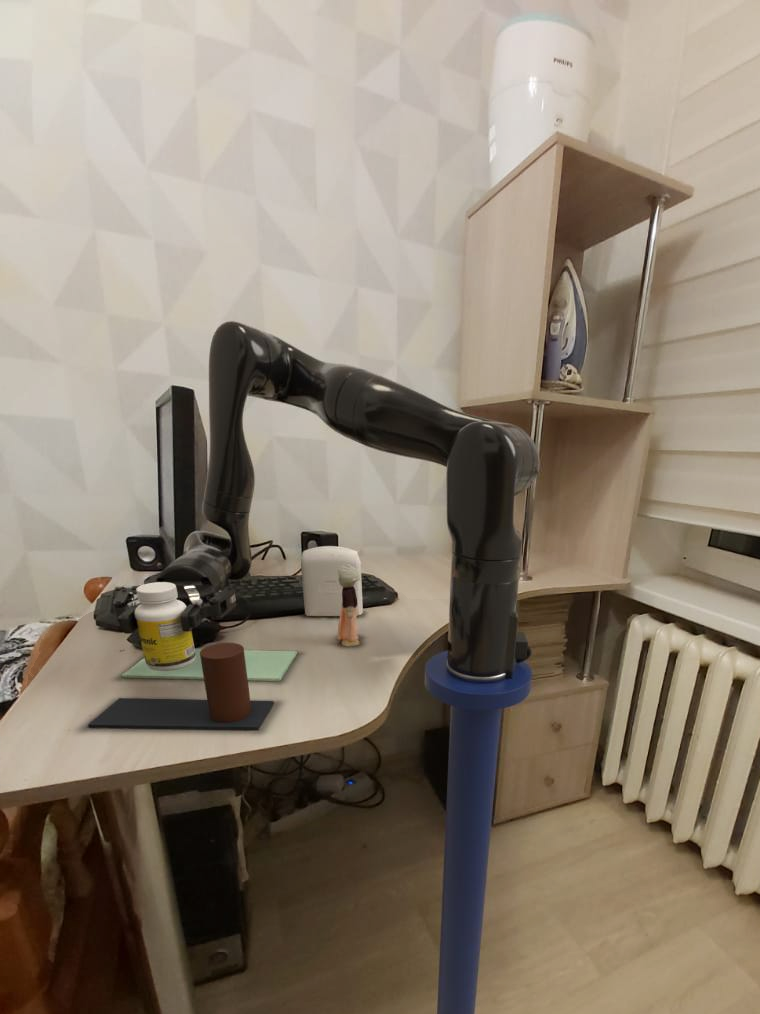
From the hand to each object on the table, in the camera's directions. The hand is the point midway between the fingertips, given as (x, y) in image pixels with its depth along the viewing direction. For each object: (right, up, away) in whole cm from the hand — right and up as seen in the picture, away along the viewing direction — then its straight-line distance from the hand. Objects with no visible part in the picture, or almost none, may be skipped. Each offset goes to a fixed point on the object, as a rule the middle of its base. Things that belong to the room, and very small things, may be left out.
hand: (156, 624), depth 59 cm
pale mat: (0, -5, +13) cm, 14 cm away
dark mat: (+3, -11, +1) cm, 11 cm away
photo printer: (+10, +3, +35) cm, 37 cm away
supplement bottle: (-1, -5, +5) cm, 7 cm away
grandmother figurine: (+16, -2, +23) cm, 29 cm away
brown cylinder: (+8, -10, +1) cm, 13 cm away
